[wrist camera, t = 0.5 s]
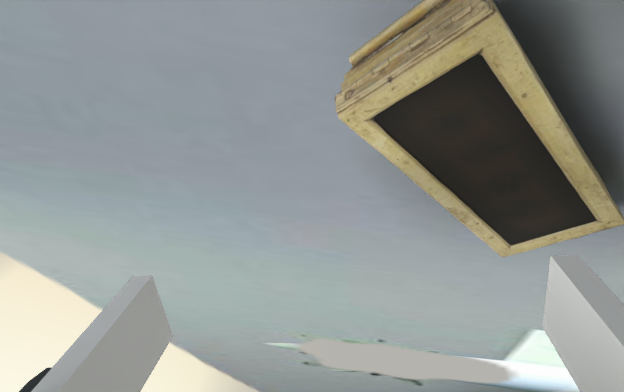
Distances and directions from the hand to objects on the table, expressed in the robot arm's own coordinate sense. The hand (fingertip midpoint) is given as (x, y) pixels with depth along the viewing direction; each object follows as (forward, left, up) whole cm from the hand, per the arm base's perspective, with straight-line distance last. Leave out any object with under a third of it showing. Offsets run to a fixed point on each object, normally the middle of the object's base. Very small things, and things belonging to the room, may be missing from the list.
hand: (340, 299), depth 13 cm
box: (+4, +8, -15) cm, 18 cm away
